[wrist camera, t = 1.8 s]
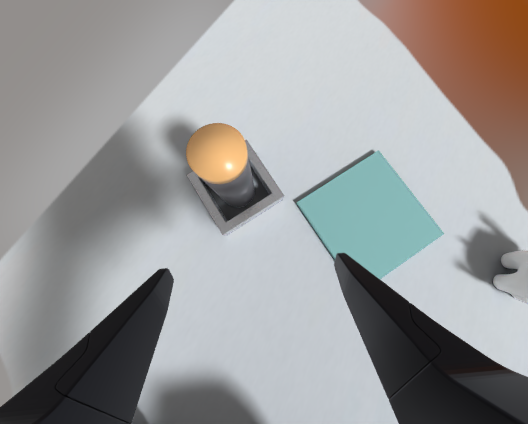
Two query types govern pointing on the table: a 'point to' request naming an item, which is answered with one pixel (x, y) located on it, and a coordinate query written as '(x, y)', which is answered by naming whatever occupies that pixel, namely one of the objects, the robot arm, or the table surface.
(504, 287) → the elephant figurine
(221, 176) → the grey orange domed cylinder
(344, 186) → the teal mat
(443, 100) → the table surface
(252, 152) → the collar
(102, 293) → the table surface
